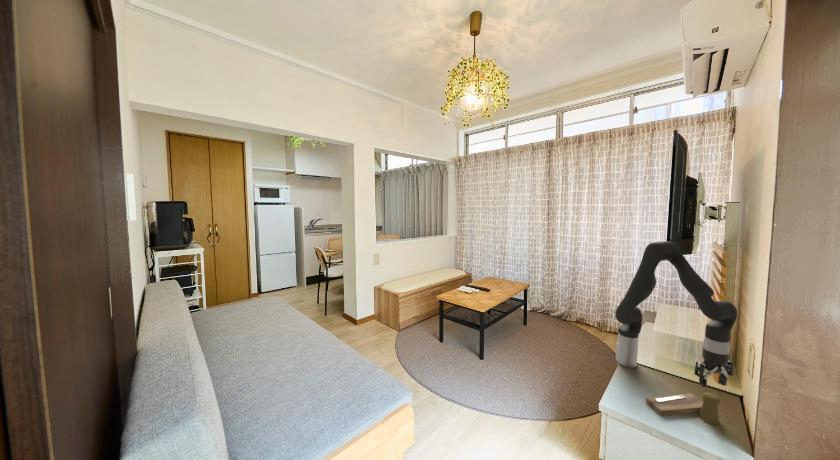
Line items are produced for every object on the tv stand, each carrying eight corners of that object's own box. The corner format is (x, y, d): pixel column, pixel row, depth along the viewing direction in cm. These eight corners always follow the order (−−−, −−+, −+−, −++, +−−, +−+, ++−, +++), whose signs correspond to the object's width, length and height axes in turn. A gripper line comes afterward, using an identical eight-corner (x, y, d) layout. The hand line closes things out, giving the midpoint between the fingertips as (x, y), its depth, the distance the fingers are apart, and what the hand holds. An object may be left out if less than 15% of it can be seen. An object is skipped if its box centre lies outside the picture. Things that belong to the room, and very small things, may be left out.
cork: (698, 419, 122) (701, 395, 121) (699, 411, 126) (701, 388, 125) (719, 426, 118) (721, 402, 116) (719, 418, 122) (721, 394, 121)
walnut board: (645, 402, 133) (646, 397, 132) (691, 398, 134) (691, 393, 133) (661, 415, 125) (661, 410, 124) (709, 411, 126) (709, 406, 125)
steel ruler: (655, 399, 131) (655, 398, 131) (682, 395, 132) (682, 394, 132) (658, 402, 129) (659, 401, 129) (686, 398, 131) (686, 397, 131)
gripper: (722, 342, 122) (718, 377, 124) (690, 345, 121) (687, 380, 123) (742, 352, 114) (738, 389, 117) (709, 355, 114) (705, 392, 116)
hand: (712, 385), depth 120 cm, fingers open, 8 cm apart
